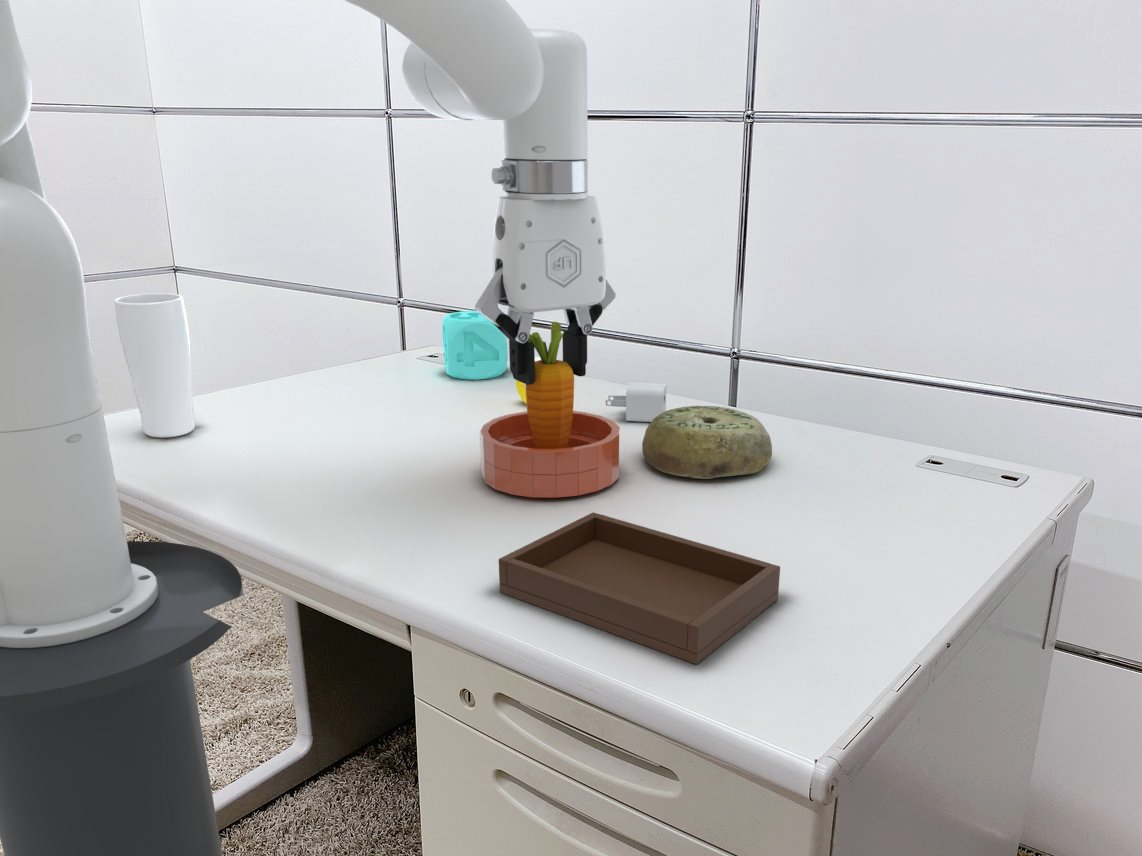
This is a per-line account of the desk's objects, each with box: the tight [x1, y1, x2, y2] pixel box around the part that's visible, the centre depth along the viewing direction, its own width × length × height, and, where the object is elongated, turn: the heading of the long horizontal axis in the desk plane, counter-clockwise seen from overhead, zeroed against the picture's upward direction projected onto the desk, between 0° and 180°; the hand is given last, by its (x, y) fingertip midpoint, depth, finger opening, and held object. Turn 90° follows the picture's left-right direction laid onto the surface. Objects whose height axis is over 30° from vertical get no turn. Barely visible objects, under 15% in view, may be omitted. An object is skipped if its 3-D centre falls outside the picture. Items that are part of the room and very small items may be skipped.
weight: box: [641, 405, 773, 480], centre depth 102 cm, size 14×13×5 cm
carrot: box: [524, 321, 575, 449], centre depth 95 cm, size 5×5×15 cm
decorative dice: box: [441, 310, 509, 381], centre depth 135 cm, size 8×8×8 cm
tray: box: [498, 512, 781, 665], centre depth 73 cm, size 18×12×3 cm, turn 55°
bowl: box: [479, 410, 621, 499], centre depth 97 cm, size 14×14×5 cm
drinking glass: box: [113, 292, 196, 439], centre depth 107 cm, size 7×7×15 cm
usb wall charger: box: [605, 382, 667, 423], centre depth 117 cm, size 4×7×4 cm, turn 83°
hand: (549, 375), depth 94 cm, fingers closed on carrot, 5 cm apart
